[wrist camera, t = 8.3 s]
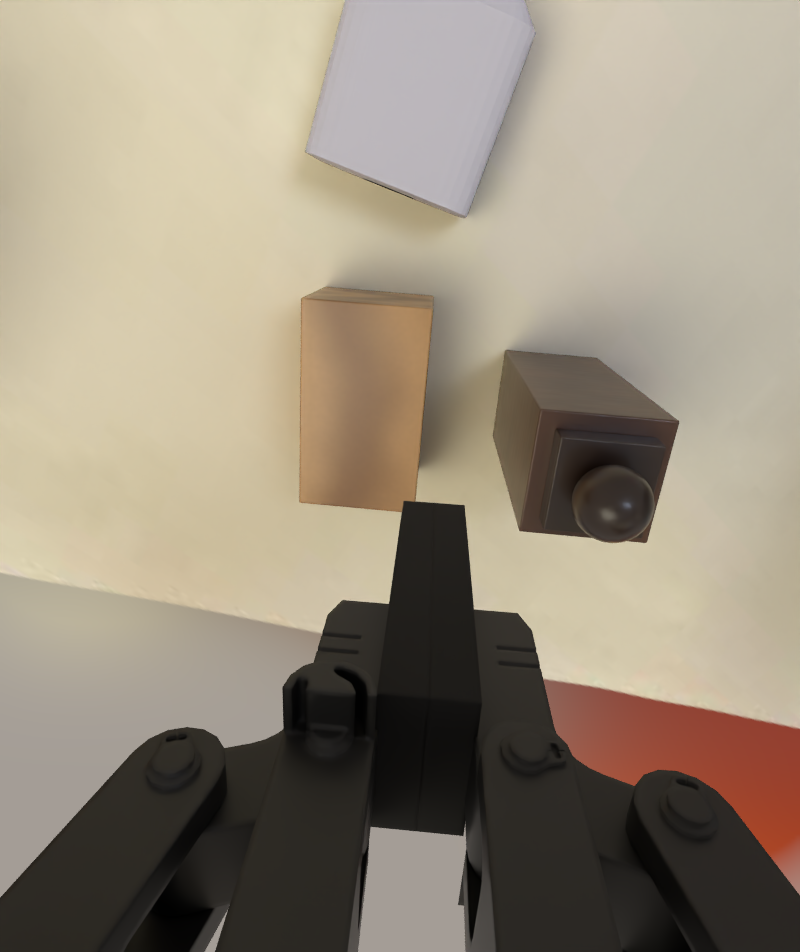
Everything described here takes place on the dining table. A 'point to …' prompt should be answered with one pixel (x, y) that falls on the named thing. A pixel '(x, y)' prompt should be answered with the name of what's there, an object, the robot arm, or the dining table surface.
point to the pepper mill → (580, 447)
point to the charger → (420, 93)
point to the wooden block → (362, 396)
